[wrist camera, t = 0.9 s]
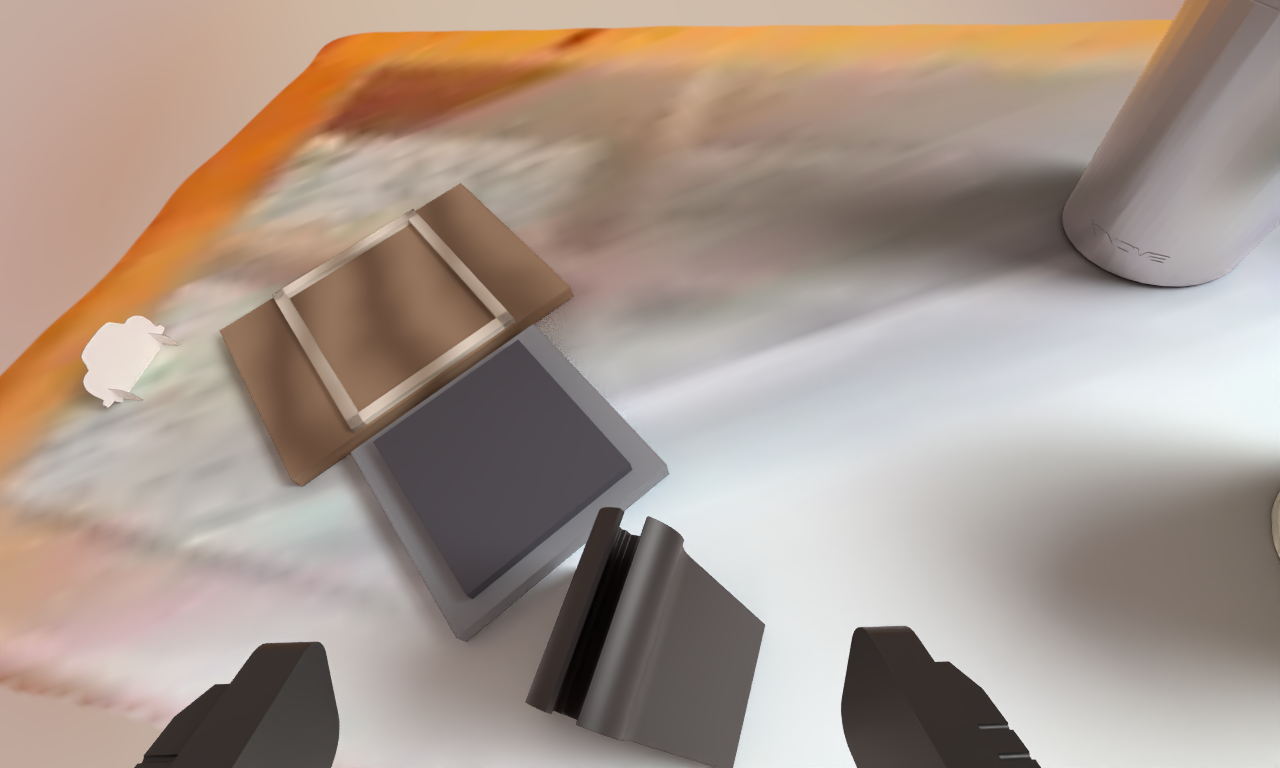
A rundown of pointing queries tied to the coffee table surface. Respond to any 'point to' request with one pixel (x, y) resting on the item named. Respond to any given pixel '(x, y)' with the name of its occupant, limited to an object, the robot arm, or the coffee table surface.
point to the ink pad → (504, 476)
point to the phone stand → (650, 646)
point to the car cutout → (121, 357)
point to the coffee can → (1276, 523)
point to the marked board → (387, 327)
